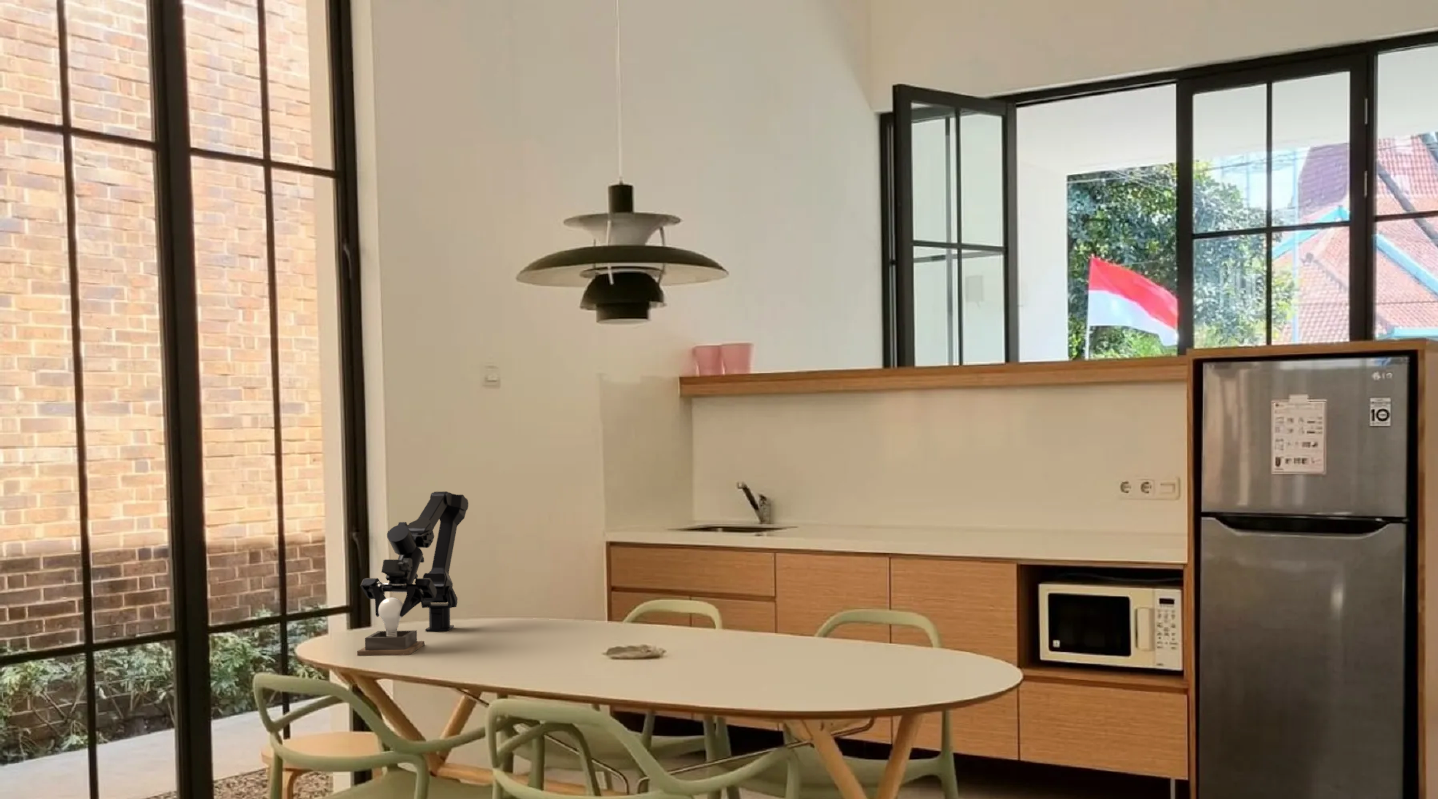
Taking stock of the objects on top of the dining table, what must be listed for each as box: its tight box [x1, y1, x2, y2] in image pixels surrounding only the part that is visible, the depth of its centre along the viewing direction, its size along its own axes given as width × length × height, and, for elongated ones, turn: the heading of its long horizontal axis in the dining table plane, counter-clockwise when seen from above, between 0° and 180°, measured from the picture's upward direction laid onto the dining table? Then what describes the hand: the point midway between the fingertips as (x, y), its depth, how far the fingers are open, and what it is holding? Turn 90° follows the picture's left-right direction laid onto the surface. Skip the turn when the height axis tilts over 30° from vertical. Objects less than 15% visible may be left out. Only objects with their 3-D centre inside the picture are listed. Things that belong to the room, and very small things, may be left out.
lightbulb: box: [378, 596, 404, 637], centre depth 301 cm, size 6×6×11 cm
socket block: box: [356, 630, 425, 656], centre depth 300 cm, size 13×13×4 cm
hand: (388, 615), depth 299 cm, fingers closed on lightbulb, 6 cm apart
